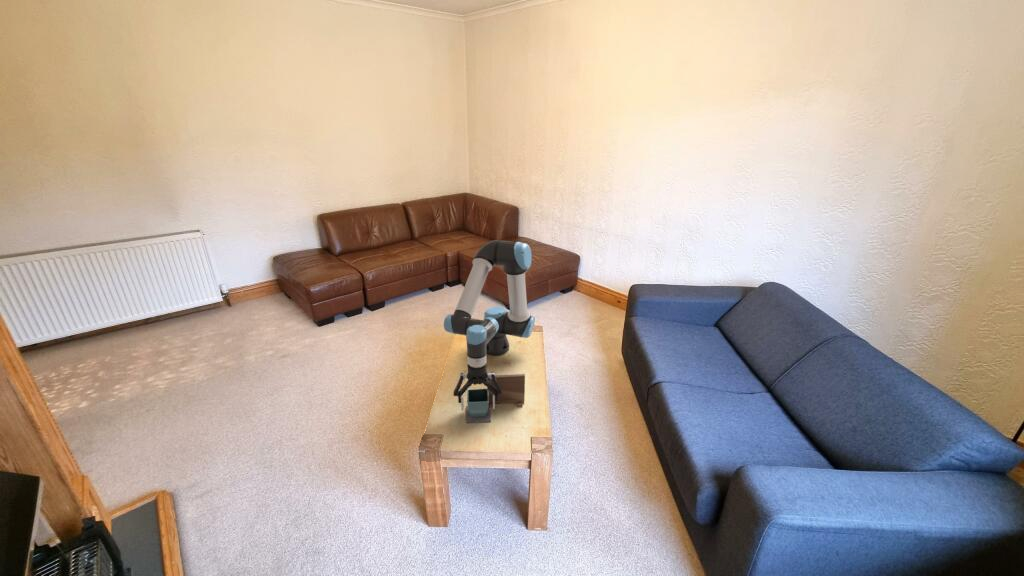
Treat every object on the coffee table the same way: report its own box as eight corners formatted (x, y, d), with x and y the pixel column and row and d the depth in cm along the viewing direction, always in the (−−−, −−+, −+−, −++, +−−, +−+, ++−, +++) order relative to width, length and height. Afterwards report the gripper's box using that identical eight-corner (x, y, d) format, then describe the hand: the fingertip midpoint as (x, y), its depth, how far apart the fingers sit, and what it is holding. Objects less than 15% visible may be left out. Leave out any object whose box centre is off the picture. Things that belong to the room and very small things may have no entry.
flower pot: (467, 406, 169) (467, 389, 166) (488, 405, 170) (488, 388, 166) (467, 420, 161) (466, 402, 157) (489, 419, 162) (489, 401, 158)
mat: (466, 407, 169) (466, 406, 169) (489, 406, 170) (489, 404, 170) (466, 423, 160) (466, 422, 160) (490, 421, 161) (490, 420, 161)
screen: (487, 399, 174) (486, 372, 169) (523, 397, 176) (523, 371, 171) (487, 408, 169) (487, 380, 164) (524, 406, 170) (525, 379, 165)
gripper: (445, 370, 151) (448, 415, 159) (508, 367, 154) (508, 412, 162) (446, 359, 158) (449, 403, 166) (507, 356, 160) (506, 400, 169)
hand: (478, 407), depth 164 cm, fingers open, 12 cm apart
